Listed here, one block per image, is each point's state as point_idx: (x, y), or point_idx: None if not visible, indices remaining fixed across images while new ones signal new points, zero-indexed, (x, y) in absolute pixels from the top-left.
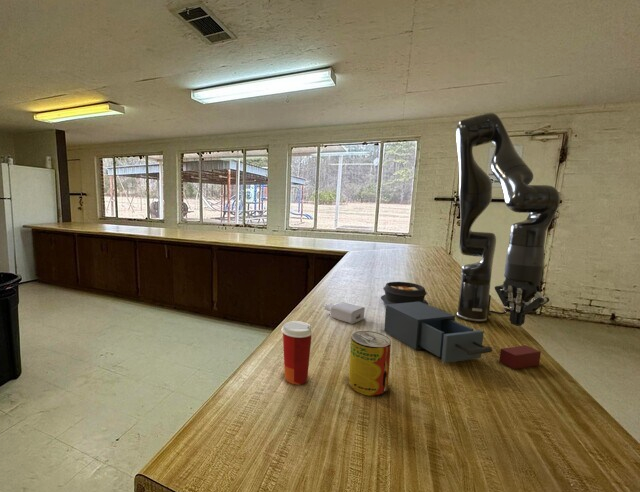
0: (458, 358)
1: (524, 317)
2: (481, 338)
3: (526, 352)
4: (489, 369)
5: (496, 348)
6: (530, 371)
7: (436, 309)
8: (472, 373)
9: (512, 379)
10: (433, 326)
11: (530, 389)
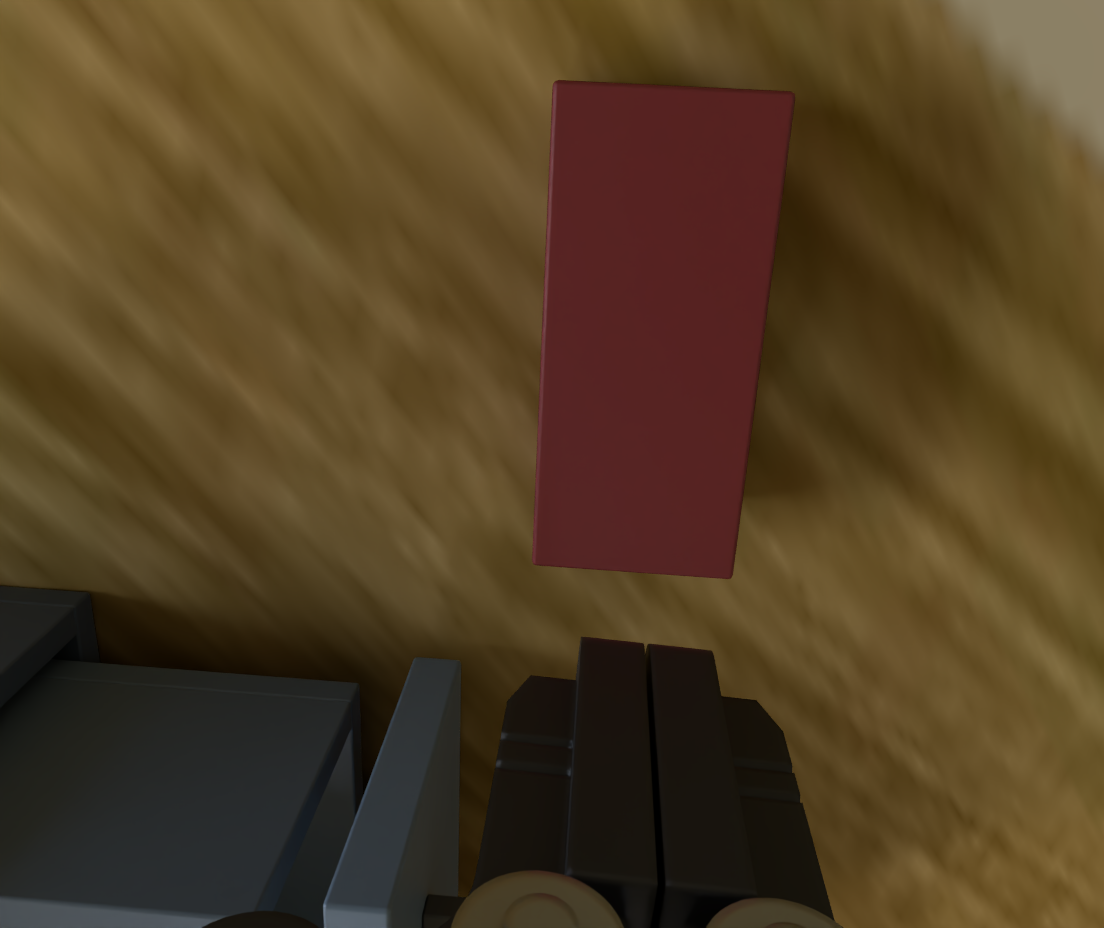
0: None
1: (809, 854)
2: (413, 849)
3: (732, 358)
4: None
5: (246, 138)
6: (808, 374)
7: None
8: None
9: (829, 701)
10: None
11: (999, 724)
